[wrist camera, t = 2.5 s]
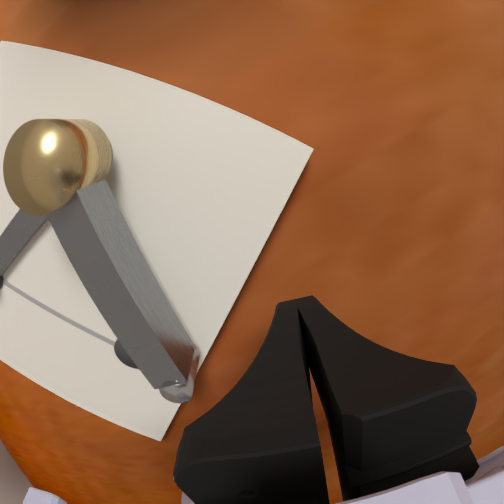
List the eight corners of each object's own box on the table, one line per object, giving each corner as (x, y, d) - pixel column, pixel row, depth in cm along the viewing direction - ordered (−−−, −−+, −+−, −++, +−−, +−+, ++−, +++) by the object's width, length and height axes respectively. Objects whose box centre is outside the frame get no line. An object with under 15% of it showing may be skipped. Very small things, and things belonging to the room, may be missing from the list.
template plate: (163, 430, 19) (158, 448, 18) (-29, 325, 17) (-40, 336, 15) (309, 147, 13) (316, 149, 11) (12, 43, 10) (-6, 39, 9)
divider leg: (43, 143, 11) (-7, 151, 8) (98, 105, 11) (52, 99, 7) (165, 369, 15) (150, 418, 12) (222, 353, 15) (216, 405, 11)
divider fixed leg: (71, 153, 12) (57, 155, 11) (87, 177, 12) (74, 181, 11) (-19, 269, 14) (-31, 277, 13) (-7, 287, 14) (-18, 296, 13)
